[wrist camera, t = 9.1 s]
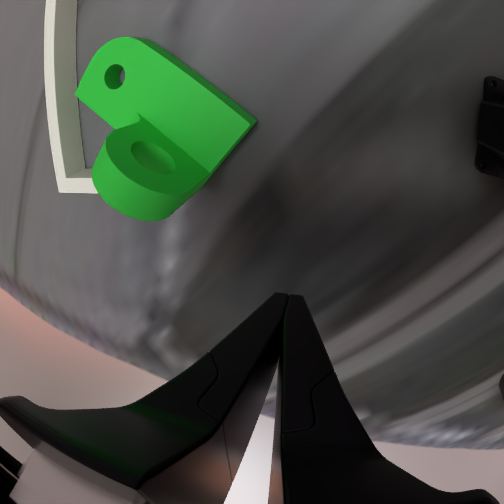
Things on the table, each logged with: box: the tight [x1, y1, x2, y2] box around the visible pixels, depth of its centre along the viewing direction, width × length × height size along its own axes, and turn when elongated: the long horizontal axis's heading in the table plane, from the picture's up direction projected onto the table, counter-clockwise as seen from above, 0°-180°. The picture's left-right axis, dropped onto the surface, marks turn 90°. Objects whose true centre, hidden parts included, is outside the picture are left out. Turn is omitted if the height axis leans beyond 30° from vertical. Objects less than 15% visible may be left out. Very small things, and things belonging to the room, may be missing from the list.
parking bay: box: [44, 0, 98, 193], centre depth 17 cm, size 10×19×2 cm, turn 0°
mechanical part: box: [74, 37, 257, 221], centre depth 16 cm, size 12×6×8 cm, turn 50°
